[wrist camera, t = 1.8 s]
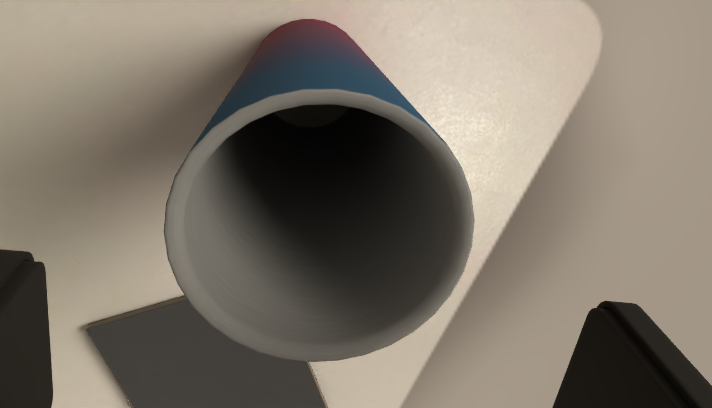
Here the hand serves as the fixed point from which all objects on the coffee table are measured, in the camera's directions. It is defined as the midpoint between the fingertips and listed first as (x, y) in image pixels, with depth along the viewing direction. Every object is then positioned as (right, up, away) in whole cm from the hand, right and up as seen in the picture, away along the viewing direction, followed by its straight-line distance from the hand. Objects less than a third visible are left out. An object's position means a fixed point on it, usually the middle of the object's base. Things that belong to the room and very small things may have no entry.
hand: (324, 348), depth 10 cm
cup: (-2, +8, +16) cm, 19 cm away
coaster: (-7, -7, +23) cm, 25 cm away
